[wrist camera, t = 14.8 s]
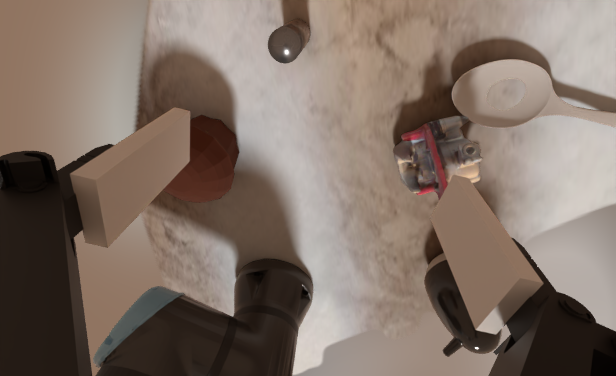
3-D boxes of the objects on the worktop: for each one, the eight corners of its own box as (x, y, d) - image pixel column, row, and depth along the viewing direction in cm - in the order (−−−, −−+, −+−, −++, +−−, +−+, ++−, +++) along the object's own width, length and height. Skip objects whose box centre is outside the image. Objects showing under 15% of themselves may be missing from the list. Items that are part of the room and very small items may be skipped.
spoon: (433, 111, 39) (439, 119, 37) (462, 45, 35) (471, 49, 33) (689, 164, 41) (709, 174, 38) (749, 107, 36) (775, 115, 34)
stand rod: (304, 52, 37) (292, 68, 29) (281, 40, 36) (263, 54, 29) (314, 26, 35) (305, 37, 28) (290, 14, 35) (274, 21, 27)
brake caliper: (367, 137, 39) (447, 154, 29) (427, 97, 42) (518, 100, 32) (390, 205, 45) (464, 240, 35) (441, 166, 48) (523, 187, 38)
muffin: (261, 136, 44) (240, 171, 35) (230, 189, 49) (206, 230, 41) (183, 89, 41) (141, 115, 33) (160, 151, 47) (119, 186, 38)
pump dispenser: (406, 260, 53) (425, 345, 41) (463, 231, 49) (503, 316, 36) (439, 291, 57) (466, 379, 44) (495, 267, 52) (542, 357, 39)
